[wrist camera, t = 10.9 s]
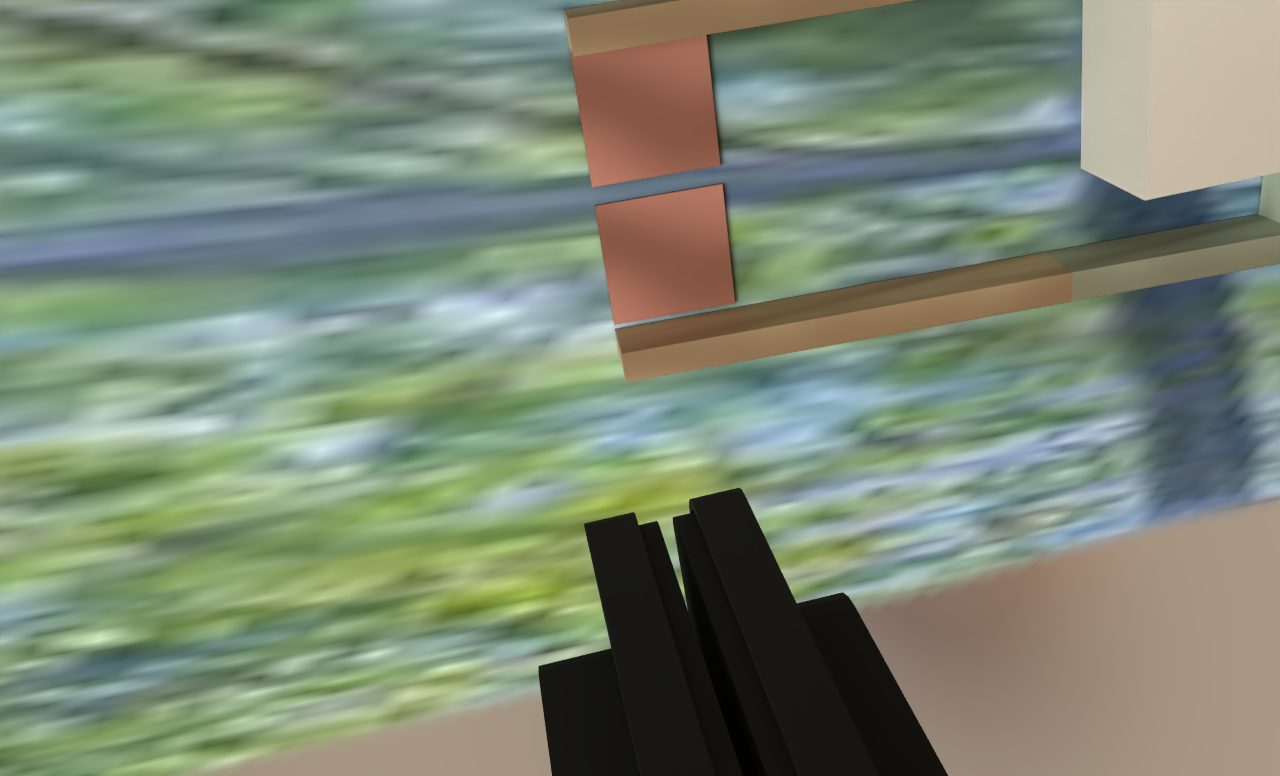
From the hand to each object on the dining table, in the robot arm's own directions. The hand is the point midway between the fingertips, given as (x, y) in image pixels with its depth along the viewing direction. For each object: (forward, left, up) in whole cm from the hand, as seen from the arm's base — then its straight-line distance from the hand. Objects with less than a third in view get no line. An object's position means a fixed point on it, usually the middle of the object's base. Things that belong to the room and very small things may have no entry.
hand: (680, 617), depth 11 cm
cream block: (+1, +19, -24) cm, 31 cm away
